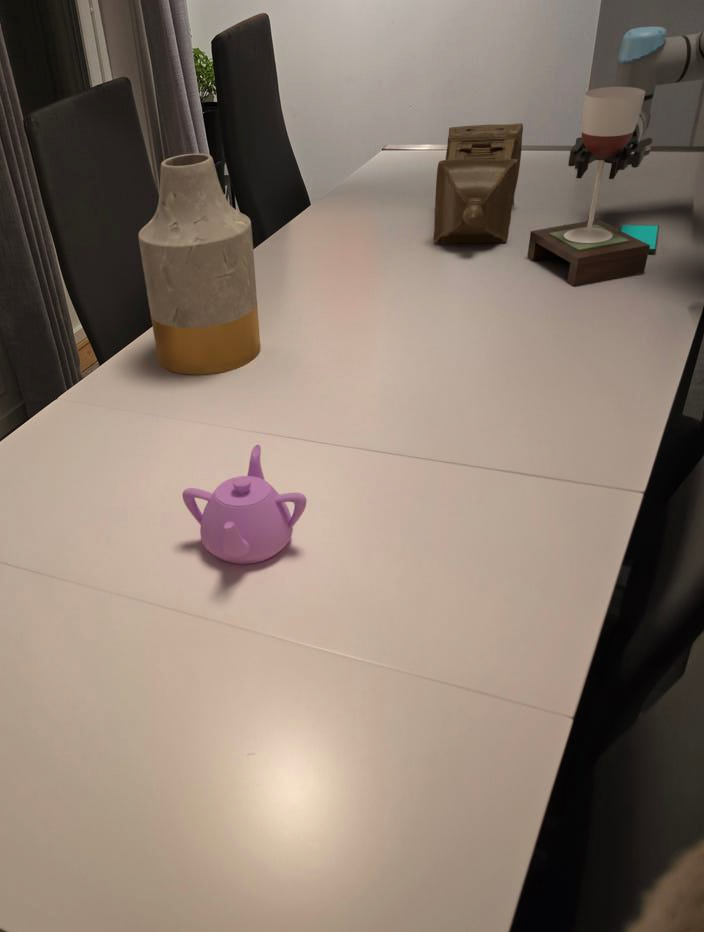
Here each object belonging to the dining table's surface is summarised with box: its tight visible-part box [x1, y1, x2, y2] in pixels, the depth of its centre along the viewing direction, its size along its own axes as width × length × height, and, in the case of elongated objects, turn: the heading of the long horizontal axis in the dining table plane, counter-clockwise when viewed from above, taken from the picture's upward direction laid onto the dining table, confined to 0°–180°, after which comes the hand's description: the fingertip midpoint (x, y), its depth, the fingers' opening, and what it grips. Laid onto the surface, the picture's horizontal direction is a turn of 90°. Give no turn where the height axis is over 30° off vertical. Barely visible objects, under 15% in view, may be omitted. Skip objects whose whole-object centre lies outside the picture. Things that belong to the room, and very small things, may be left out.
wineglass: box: [564, 86, 645, 243], centre depth 150 cm, size 9×10×23 cm
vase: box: [138, 153, 261, 376], centre depth 138 cm, size 18×18×30 cm
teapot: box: [181, 444, 307, 565], centre depth 101 cm, size 12×14×9 cm
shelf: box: [526, 219, 650, 287], centre depth 159 cm, size 18×14×5 cm
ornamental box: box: [433, 122, 524, 245], centre depth 176 cm, size 35×18×18 cm, turn 163°
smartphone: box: [619, 224, 660, 254], centre depth 167 cm, size 7×1×15 cm
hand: (596, 170), depth 146 cm, fingers closed on wineglass, 5 cm apart
